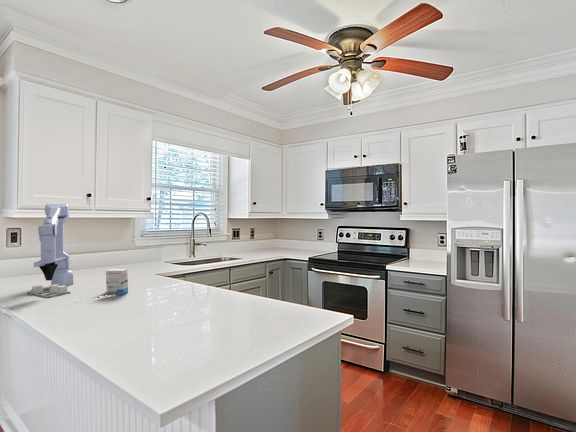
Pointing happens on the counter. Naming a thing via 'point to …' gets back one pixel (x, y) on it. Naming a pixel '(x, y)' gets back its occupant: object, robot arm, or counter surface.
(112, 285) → the ink box
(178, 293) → the counter surface
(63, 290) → the off-white rectangular block
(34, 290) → the off-white rectangular block
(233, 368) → the counter surface
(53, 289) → the cream rectangular block
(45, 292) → the grey divided tray
